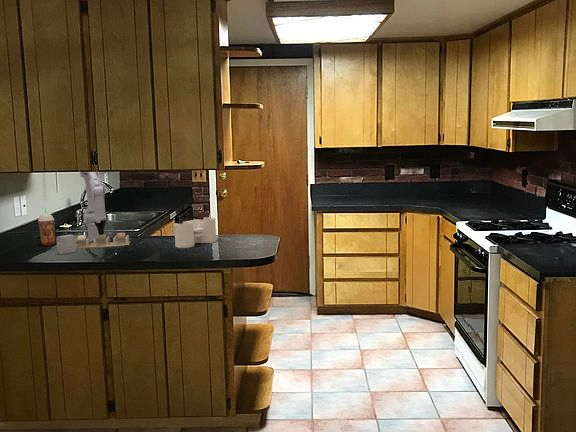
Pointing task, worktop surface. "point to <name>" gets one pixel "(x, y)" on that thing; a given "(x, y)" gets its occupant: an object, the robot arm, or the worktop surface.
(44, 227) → the smoothie
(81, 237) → the ivory key
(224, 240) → the worktop surface
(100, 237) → the sage key
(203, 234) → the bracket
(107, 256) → the worktop surface
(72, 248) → the medicine box
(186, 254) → the worktop surface
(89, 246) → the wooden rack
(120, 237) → the terracotta key
